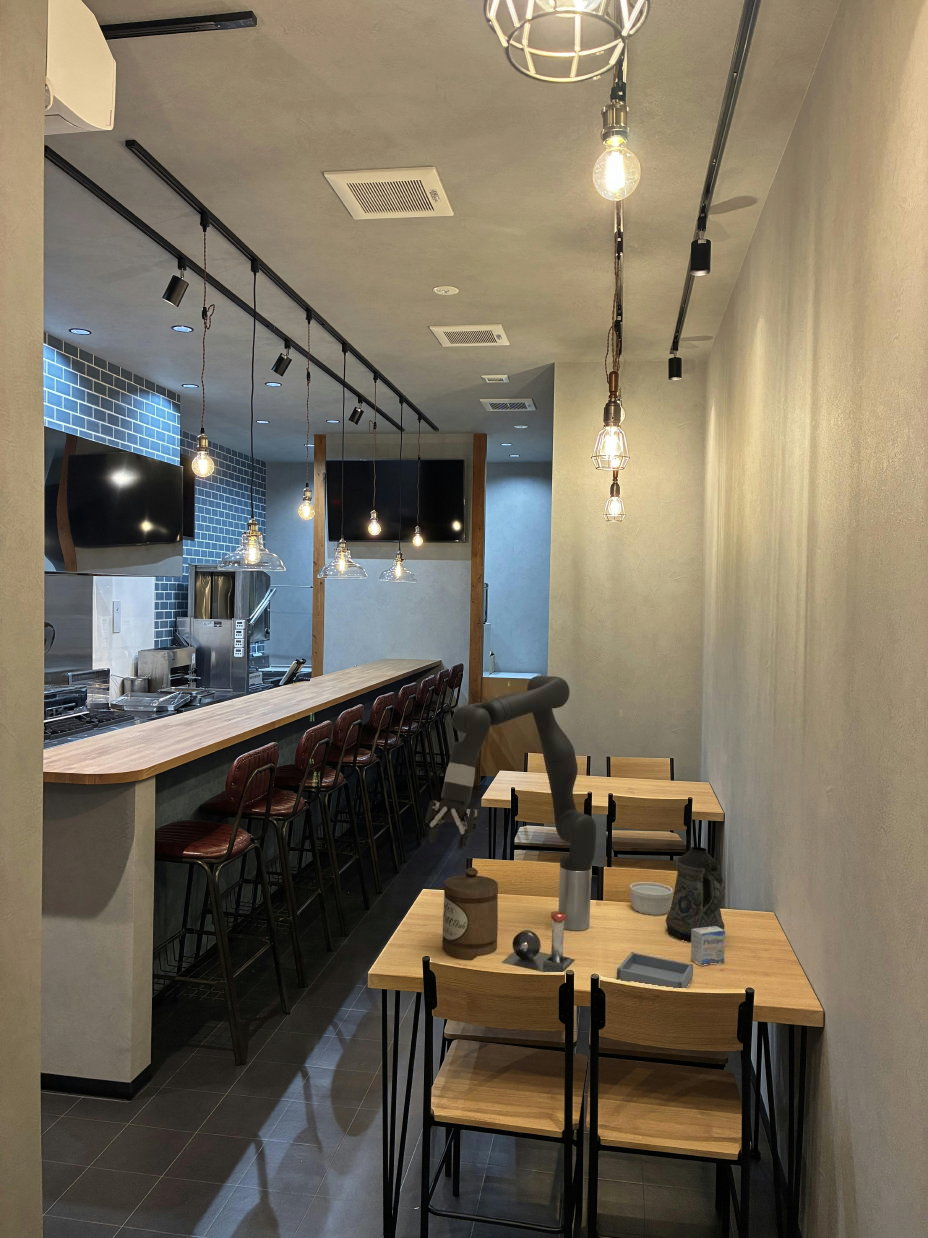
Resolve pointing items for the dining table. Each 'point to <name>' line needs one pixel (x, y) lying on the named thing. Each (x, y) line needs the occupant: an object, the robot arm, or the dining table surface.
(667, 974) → the tray
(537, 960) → the pin socket base
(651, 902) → the ramekin
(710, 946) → the medicine box
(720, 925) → the beer stein
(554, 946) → the pin
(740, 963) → the dining table surface
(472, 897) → the wooden container
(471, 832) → the robot arm
